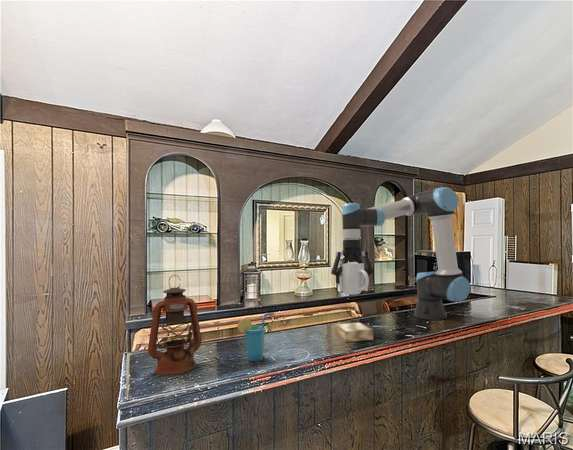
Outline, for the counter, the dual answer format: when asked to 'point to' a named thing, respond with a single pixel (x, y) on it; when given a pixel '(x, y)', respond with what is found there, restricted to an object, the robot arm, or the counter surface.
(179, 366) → the lantern
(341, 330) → the pedestal
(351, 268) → the mug
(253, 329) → the cup
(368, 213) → the robot arm
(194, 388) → the counter surface
